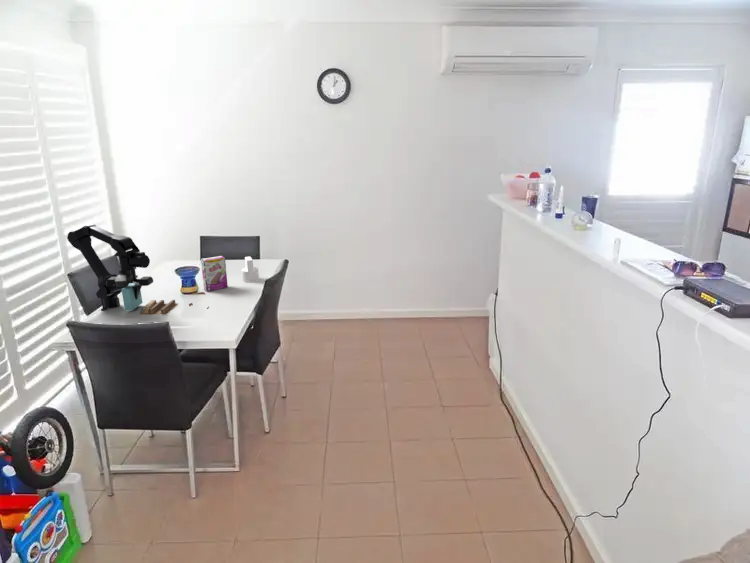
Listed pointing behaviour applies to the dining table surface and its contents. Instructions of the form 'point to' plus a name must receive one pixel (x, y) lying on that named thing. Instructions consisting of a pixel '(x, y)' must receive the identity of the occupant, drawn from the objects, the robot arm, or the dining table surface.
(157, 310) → the walnut rack
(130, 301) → the teal panel
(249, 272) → the base with upright slab
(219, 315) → the dining table surface
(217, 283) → the candy bar box
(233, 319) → the dining table surface
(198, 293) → the wooden tablet
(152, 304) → the oak offcut slats
